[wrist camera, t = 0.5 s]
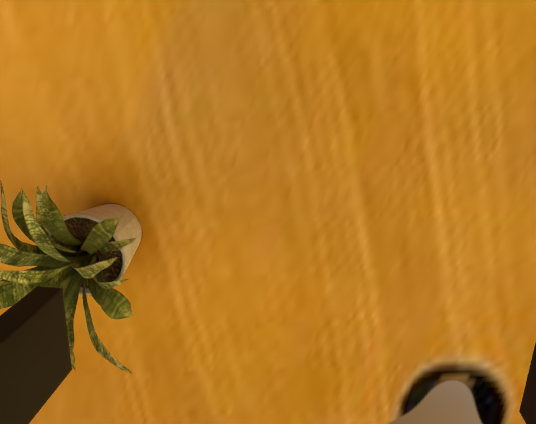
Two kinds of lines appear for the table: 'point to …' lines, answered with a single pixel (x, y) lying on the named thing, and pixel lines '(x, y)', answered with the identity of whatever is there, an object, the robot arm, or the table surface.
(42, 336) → the robot arm
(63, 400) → the table surface
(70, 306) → the house plant
